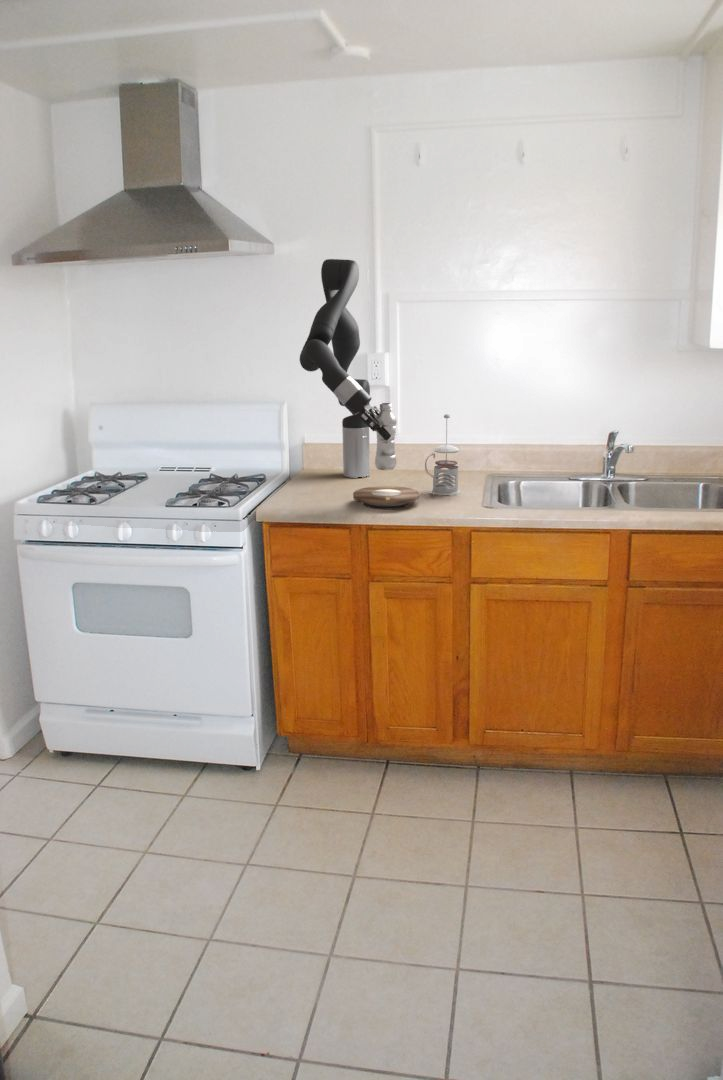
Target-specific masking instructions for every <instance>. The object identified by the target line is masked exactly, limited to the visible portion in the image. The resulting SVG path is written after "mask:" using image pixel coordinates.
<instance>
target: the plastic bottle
mask: <svg viewBox="0 0 723 1080" xmlns="http://www.w3.org/2000/svg"><path fill="white" fill-rule="evenodd" d="M378 410H379V411H380V413H379V414H378V418H379V422H380V423H381V424H382V426H383V427H384V428H385V429H386V430H387V431H388V432H389V433H390V434H391V437H390V438H389V439H388V440H385V439H384V438H383V437H382V436H381V435H380V434H379V433H378V432H376V431H375V432H376V452H375V453H376V454H375V458H374V465H375V468H376V469H377V470H380V471H385V472H388V471H391V470H394V469H395V468H396V466H397V456H396V446H395V442H396V441H395V439H396V433H395V432H396V429H397V419H396V417H395V415H394V414H393V412H392V411H393V403H391V402H382V403H379V408H378Z"/></svg>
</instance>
